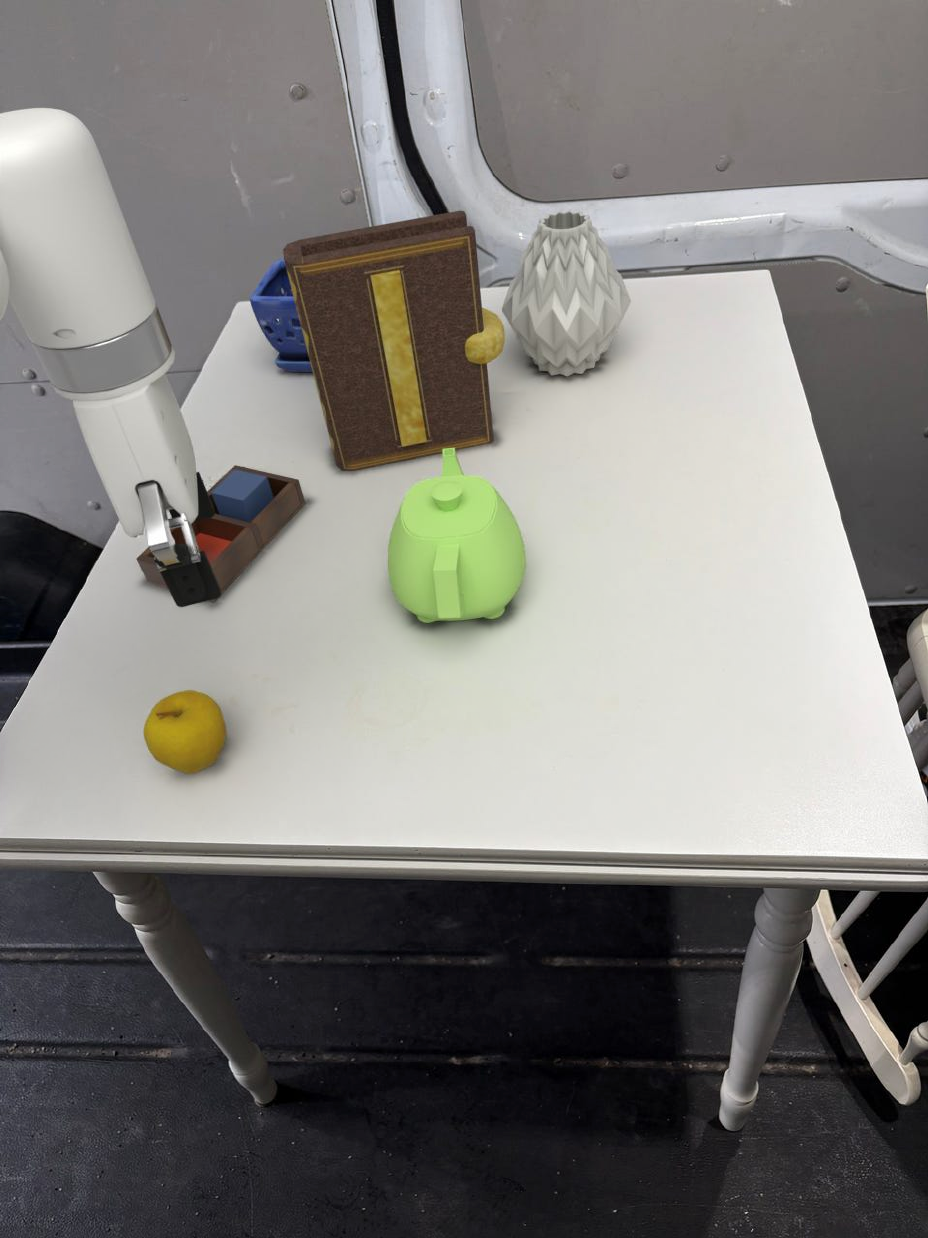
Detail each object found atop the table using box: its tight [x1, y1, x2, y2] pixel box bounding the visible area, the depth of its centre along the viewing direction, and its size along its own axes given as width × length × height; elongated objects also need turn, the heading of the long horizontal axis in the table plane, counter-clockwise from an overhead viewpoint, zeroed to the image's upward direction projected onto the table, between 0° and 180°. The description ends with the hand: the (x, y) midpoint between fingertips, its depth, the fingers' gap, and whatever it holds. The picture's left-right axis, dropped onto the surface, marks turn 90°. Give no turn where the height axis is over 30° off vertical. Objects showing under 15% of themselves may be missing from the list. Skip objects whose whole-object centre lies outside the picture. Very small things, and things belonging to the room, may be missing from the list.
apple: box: [143, 689, 227, 775], centre depth 70 cm, size 6×6×8 cm
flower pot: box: [249, 258, 313, 373], centre depth 117 cm, size 13×13×12 cm
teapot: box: [387, 448, 527, 624], centre depth 80 cm, size 20×13×13 cm
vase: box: [501, 209, 632, 378], centre depth 106 cm, size 16×16×18 cm
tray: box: [135, 464, 307, 603], centre depth 92 cm, size 17×9×3 cm, turn 154°
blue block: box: [211, 470, 274, 523], centre depth 94 cm, size 4×4×4 cm
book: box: [282, 210, 506, 472], centre depth 94 cm, size 22×8×25 cm, turn 101°
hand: (197, 557), depth 63 cm, fingers open, 9 cm apart
